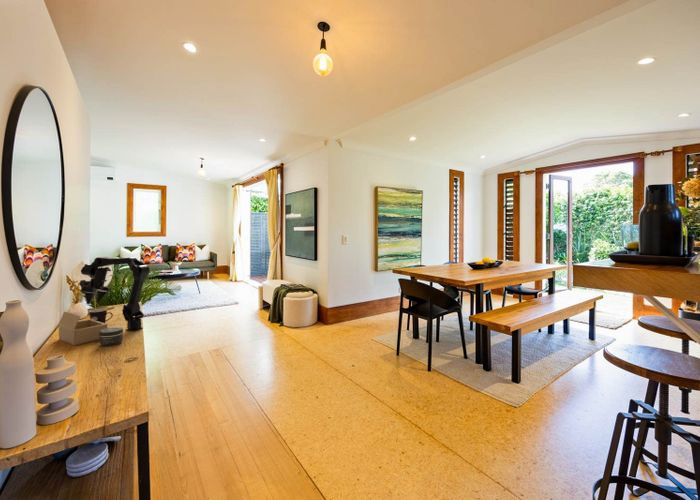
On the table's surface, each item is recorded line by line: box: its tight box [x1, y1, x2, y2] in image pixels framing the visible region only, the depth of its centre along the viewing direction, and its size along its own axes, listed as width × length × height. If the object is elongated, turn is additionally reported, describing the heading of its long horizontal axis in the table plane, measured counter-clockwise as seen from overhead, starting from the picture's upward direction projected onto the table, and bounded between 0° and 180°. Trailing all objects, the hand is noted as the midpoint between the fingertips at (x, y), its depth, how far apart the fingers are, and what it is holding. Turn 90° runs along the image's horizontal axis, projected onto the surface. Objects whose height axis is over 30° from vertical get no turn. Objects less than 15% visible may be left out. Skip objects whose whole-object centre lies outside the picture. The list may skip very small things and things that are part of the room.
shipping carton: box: [58, 318, 108, 347], centre depth 169 cm, size 15×19×8 cm
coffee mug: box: [88, 308, 113, 324], centre depth 192 cm, size 12×9×10 cm
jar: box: [99, 326, 124, 348], centre depth 163 cm, size 10×10×8 cm
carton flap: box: [58, 311, 81, 330], centre depth 164 cm, size 1×18×7 cm, turn 62°
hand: (93, 303), depth 186 cm, fingers open, 9 cm apart
